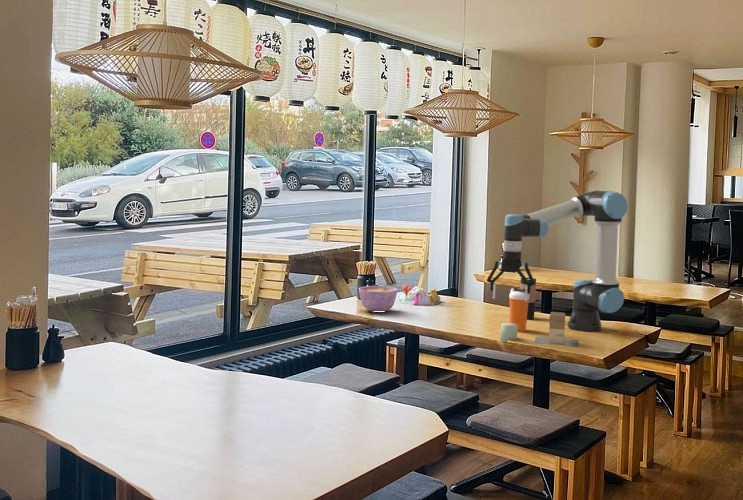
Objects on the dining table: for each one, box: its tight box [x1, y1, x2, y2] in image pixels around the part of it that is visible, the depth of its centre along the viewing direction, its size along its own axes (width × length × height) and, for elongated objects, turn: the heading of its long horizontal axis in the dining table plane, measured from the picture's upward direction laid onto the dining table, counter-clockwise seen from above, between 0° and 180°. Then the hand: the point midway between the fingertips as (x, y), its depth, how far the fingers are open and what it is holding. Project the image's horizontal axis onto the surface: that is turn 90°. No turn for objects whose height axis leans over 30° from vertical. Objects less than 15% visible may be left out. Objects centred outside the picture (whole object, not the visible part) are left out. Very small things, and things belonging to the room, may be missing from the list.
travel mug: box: [519, 277, 537, 321], centre depth 380 cm, size 8×8×20 cm
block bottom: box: [548, 327, 566, 344], centre depth 325 cm, size 6×6×6 cm
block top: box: [549, 311, 566, 330], centre depth 325 cm, size 6×6×6 cm
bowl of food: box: [358, 285, 399, 311], centre depth 391 cm, size 20×20×12 cm
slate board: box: [533, 336, 579, 348], centre depth 326 cm, size 13×18×1 cm
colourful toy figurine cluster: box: [397, 284, 442, 306], centre depth 422 cm, size 25×24×9 cm
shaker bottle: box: [508, 287, 529, 333], centre depth 347 cm, size 9×9×20 cm
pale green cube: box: [499, 322, 518, 343], centre depth 330 cm, size 7×7×7 cm
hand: (509, 299), depth 328 cm, fingers open, 13 cm apart
